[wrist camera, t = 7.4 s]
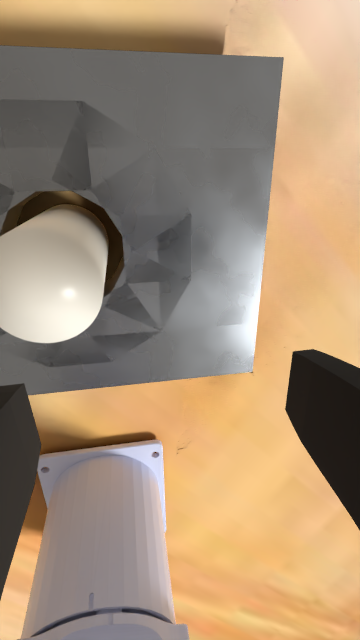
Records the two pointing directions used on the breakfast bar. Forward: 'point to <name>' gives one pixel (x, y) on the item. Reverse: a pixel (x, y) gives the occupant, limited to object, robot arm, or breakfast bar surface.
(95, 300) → the peg
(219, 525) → the breakfast bar surface
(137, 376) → the socket plate
